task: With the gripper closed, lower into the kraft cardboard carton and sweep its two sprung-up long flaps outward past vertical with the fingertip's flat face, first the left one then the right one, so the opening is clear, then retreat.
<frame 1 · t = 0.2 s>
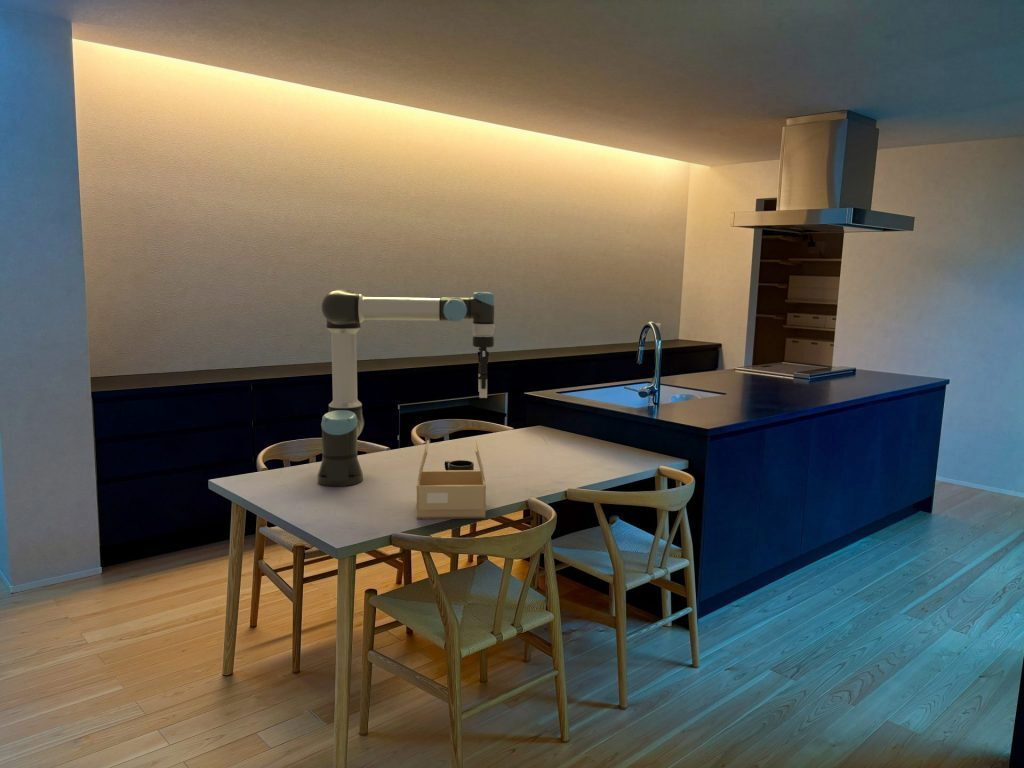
hand: (482, 394, 264), 28 cm above the table, fingers open, 13 cm apart
mug: (457, 490, 243), on the table
flap left: (423, 459, 219), point 16 cm above the table, hinge at 15.0°
carton: (451, 509, 222), on the table
flap right: (479, 459, 221), point 16 cm above the table, hinge at 15.0°
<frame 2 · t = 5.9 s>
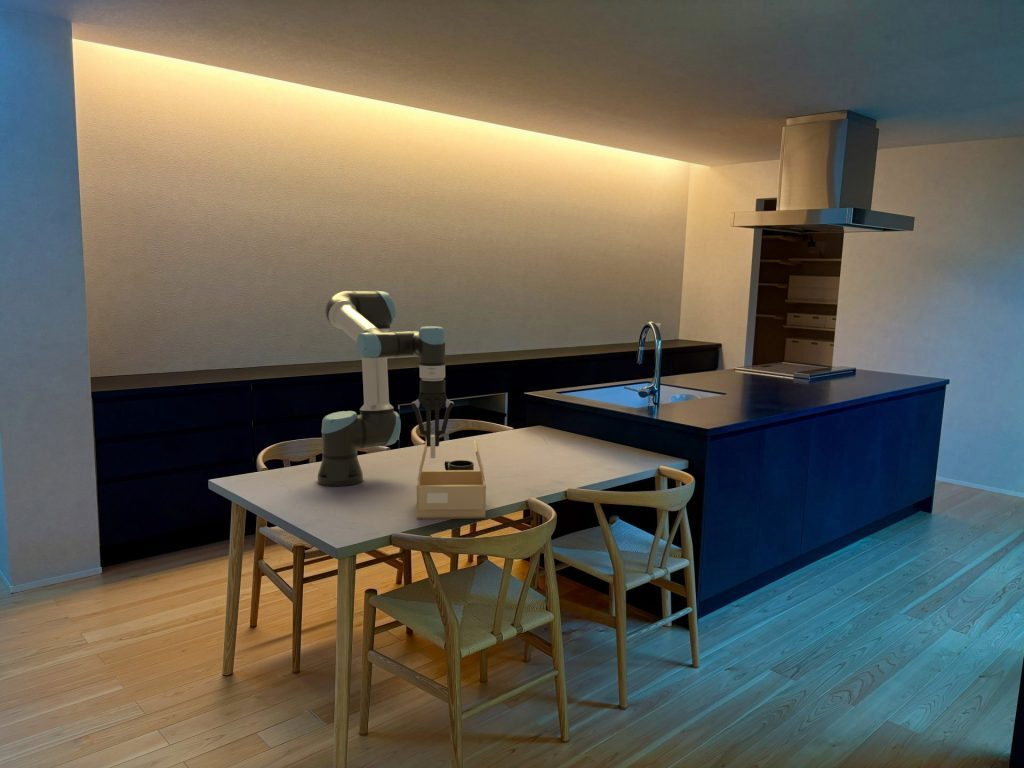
hand: (433, 456, 220), 17 cm above the table, fingers closed
flap left: (422, 459, 219), point 16 cm above the table, hinge at 13.0°, touching gripper
everything else where it was.
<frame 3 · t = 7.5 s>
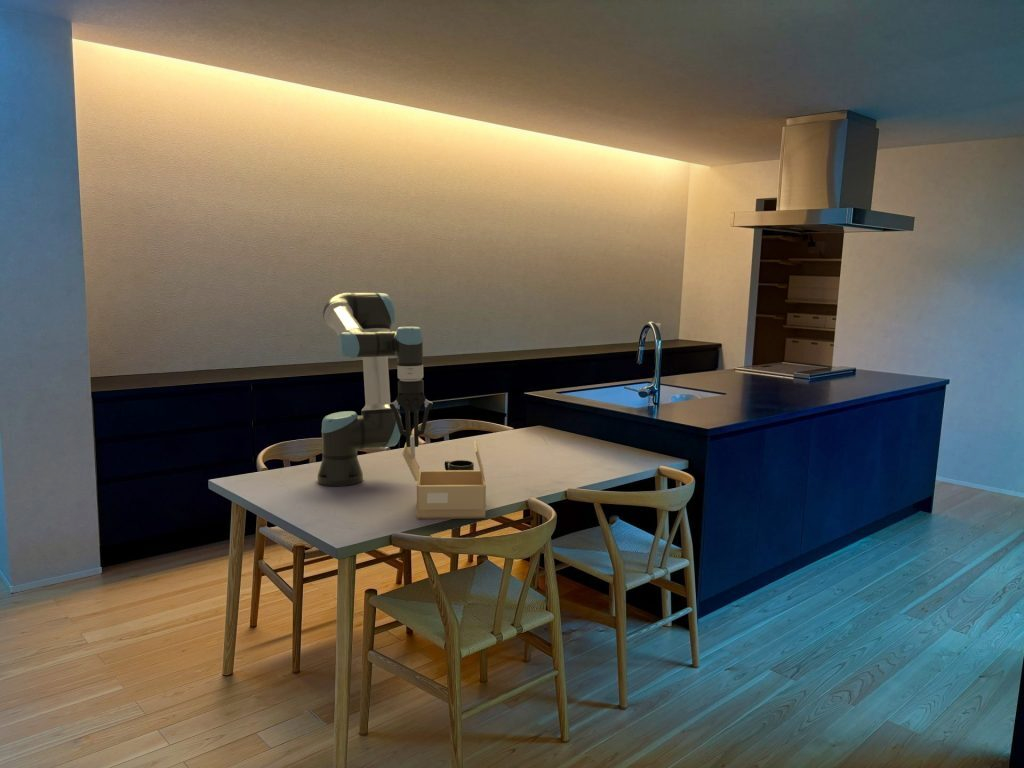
hand: (412, 457, 219), 16 cm above the table, fingers closed
flap left: (411, 461, 219), point 15 cm above the table, hinge at -25.0°, touching gripper
everything else where it was.
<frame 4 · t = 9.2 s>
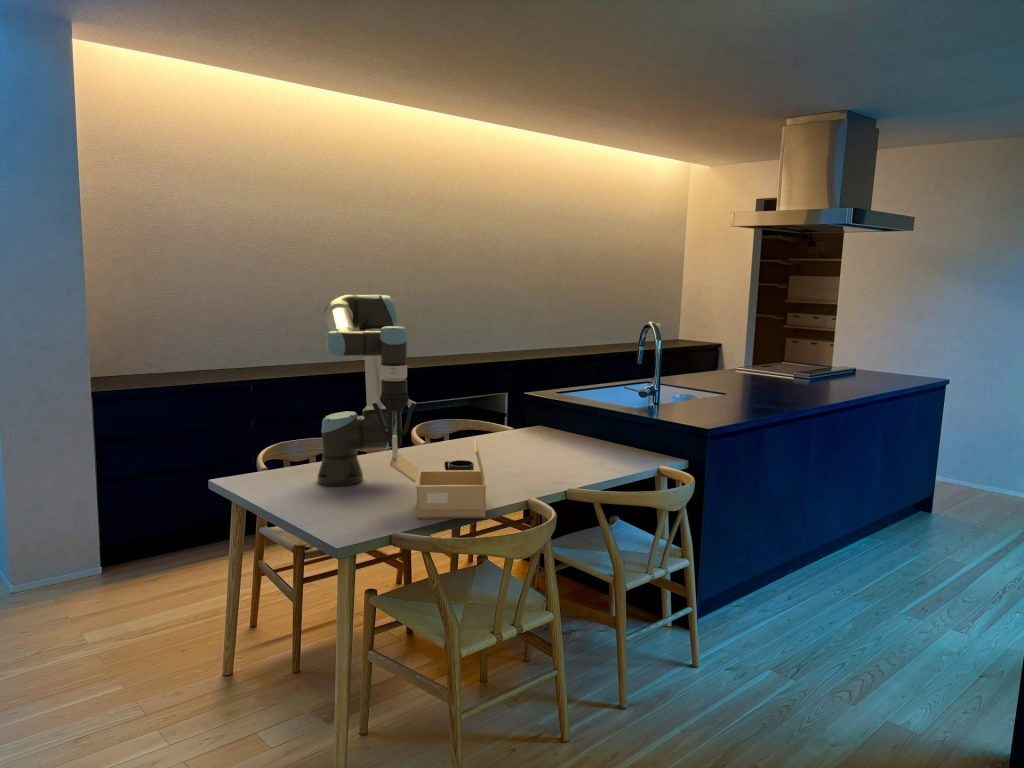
hand: (395, 457, 219), 16 cm above the table, fingers closed
flap left: (404, 466, 219), point 14 cm above the table, hinge at -54.3°, touching gripper
everything else where it was.
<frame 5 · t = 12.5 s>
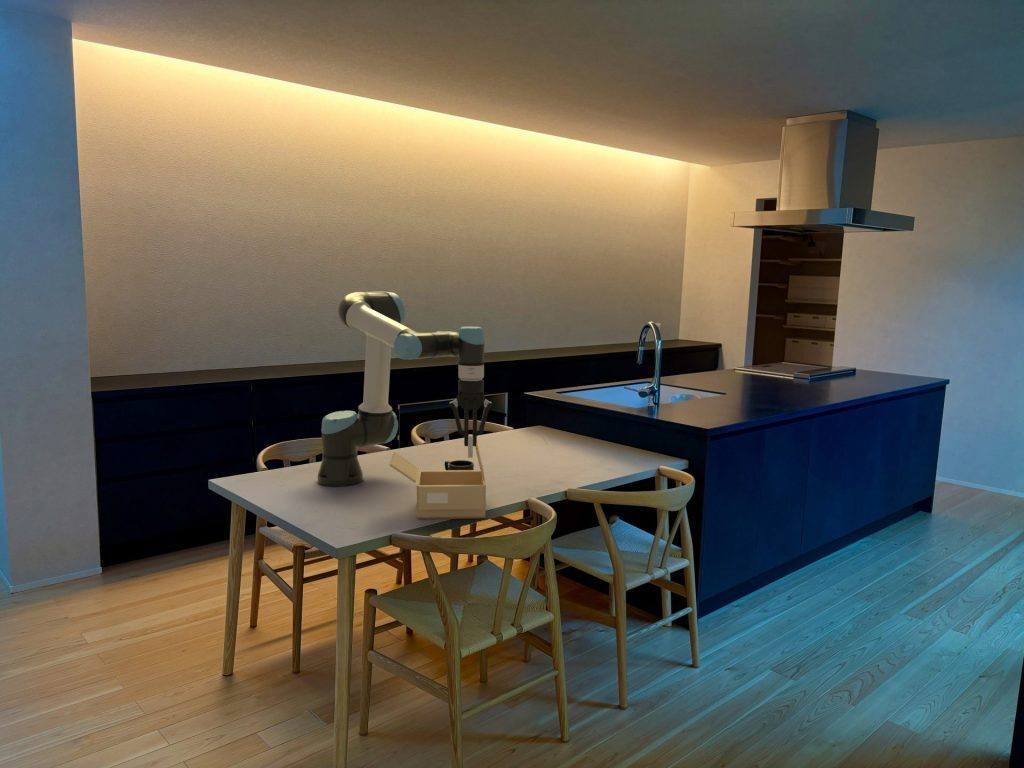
hand: (470, 456, 220), 17 cm above the table, fingers closed
flap left: (404, 466, 219), point 14 cm above the table, hinge at -54.5°
flap right: (479, 459, 221), point 16 cm above the table, hinge at 13.6°, touching gripper
everything else where it was.
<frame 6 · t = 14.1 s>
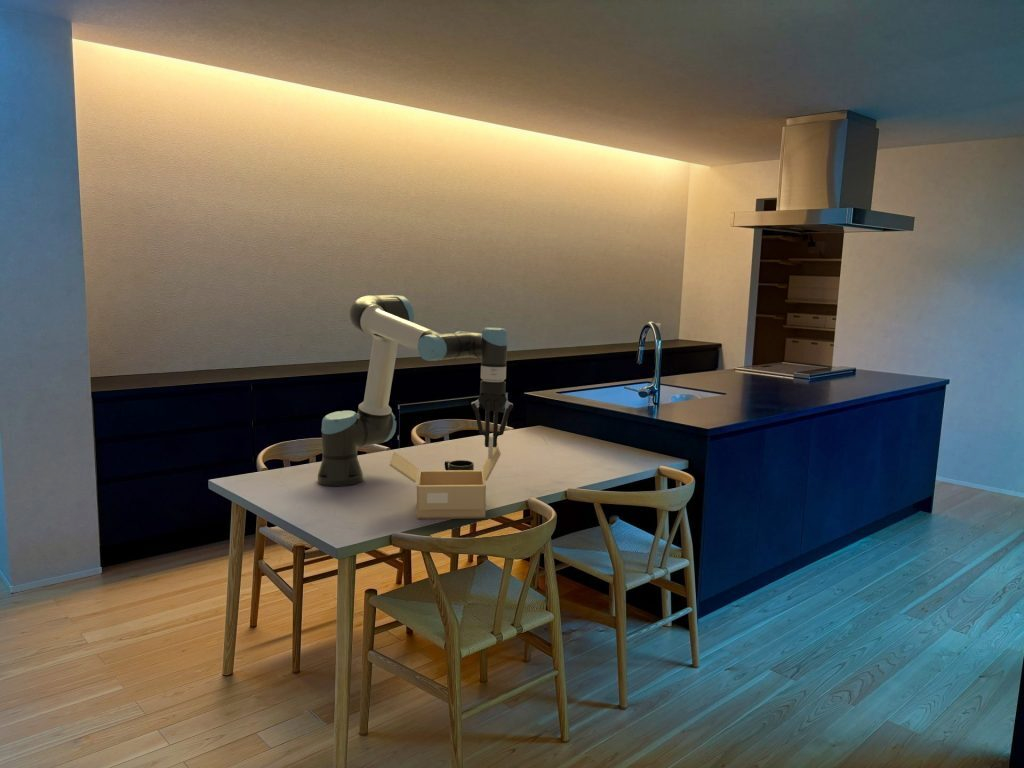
hand: (490, 457, 221), 16 cm above the table, fingers closed
flap right: (491, 460, 221), point 15 cm above the table, hinge at -26.4°, touching gripper
everything else where it was.
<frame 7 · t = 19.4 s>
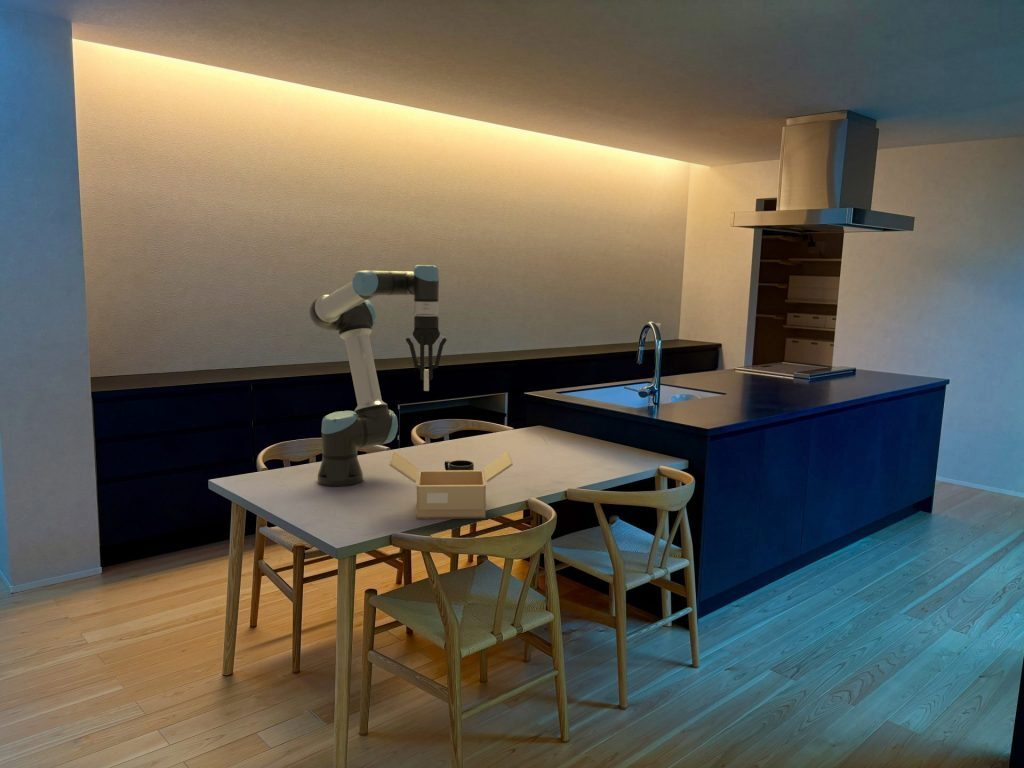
hand: (426, 390, 231), 34 cm above the table, fingers closed
flap right: (498, 466, 222), point 14 cm above the table, hinge at -54.7°
everything else where it was.
at the end: flap left at -54° (first picture: +15°); flap right at -55° (first picture: +15°) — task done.
